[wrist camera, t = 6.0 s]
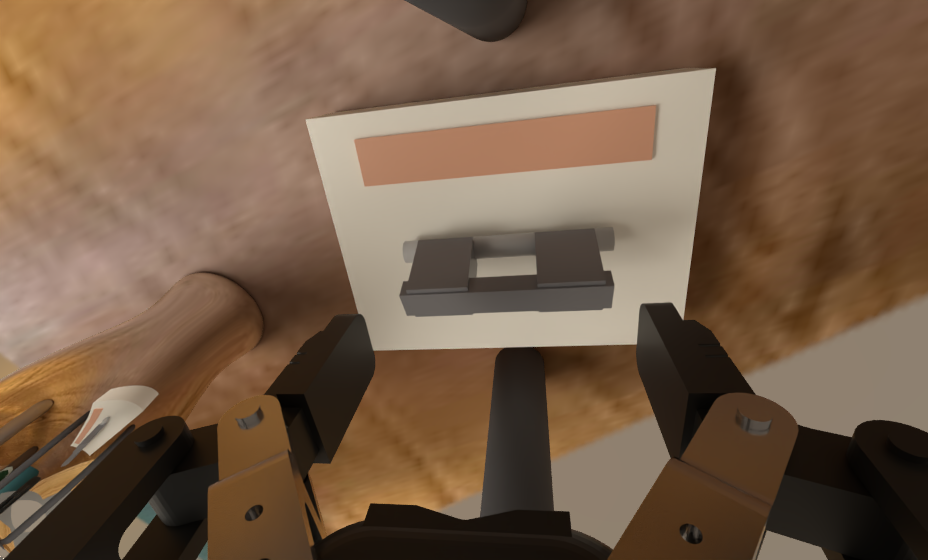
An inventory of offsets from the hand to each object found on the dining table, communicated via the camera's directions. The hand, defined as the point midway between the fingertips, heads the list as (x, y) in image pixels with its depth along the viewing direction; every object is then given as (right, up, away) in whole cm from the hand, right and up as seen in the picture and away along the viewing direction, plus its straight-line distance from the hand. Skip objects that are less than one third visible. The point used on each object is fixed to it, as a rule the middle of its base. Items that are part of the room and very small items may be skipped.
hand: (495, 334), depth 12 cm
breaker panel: (+1, +5, +9) cm, 11 cm away
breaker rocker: (+1, +3, +6) cm, 7 cm away
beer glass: (-17, 0, +15) cm, 22 cm away
